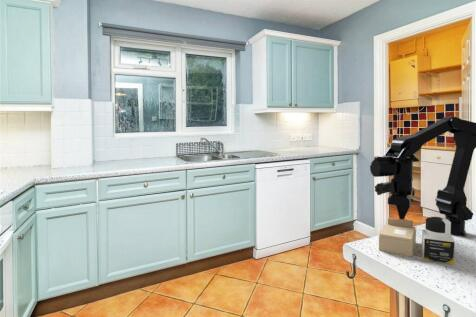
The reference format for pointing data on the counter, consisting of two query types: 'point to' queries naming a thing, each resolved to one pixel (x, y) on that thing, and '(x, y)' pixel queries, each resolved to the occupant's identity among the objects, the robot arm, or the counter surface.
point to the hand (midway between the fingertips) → (401, 219)
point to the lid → (398, 229)
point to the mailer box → (397, 245)
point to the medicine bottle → (438, 240)
